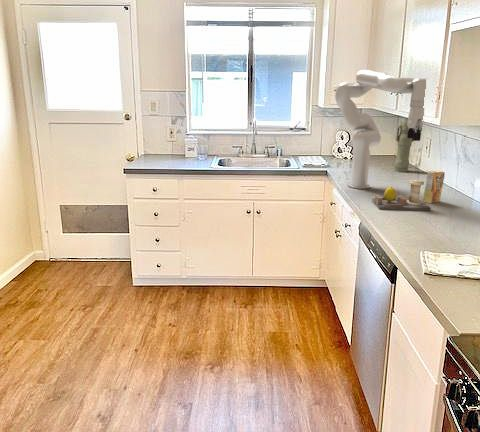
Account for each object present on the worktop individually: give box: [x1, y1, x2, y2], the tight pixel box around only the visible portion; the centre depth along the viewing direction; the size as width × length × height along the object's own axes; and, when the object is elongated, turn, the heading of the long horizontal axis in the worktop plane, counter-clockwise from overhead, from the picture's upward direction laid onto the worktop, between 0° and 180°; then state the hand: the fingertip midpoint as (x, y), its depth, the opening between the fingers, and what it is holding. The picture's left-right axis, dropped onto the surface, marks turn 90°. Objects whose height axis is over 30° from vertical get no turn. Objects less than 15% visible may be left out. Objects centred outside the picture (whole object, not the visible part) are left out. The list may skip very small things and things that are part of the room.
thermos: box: [393, 117, 415, 173], centre depth 303 cm, size 9×12×35 cm
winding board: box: [371, 194, 432, 212], centre depth 222 cm, size 14×24×4 cm, turn 88°
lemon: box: [383, 186, 397, 203], centre depth 221 cm, size 6×6×8 cm
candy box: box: [422, 170, 446, 204], centre depth 230 cm, size 9×4×15 cm, turn 123°
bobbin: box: [406, 179, 425, 206], centre depth 220 cm, size 7×7×11 cm
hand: (413, 139), depth 230 cm, fingers open, 9 cm apart
